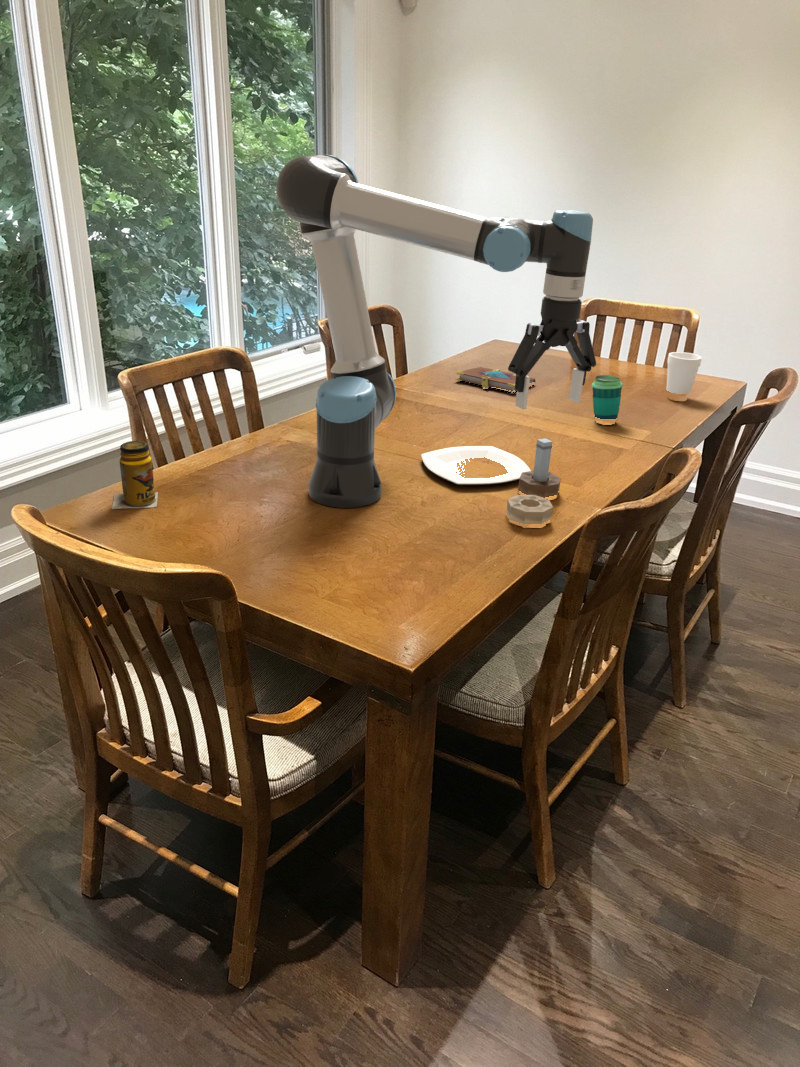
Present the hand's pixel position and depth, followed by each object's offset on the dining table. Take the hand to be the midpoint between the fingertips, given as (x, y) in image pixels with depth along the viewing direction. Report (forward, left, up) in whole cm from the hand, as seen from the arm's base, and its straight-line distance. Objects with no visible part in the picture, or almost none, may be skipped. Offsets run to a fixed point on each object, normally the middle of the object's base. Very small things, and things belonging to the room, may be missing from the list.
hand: (547, 404), depth 167 cm
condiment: (-78, +29, -20) cm, 85 cm away
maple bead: (-10, -10, -20) cm, 24 cm away
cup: (+47, +34, -20) cm, 61 cm away
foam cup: (+84, +43, -20) cm, 97 cm away
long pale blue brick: (0, 0, -20) cm, 20 cm away
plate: (-5, +17, -20) cm, 27 cm away
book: (+40, +78, -21) cm, 90 cm away
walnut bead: (0, 0, -20) cm, 20 cm away
